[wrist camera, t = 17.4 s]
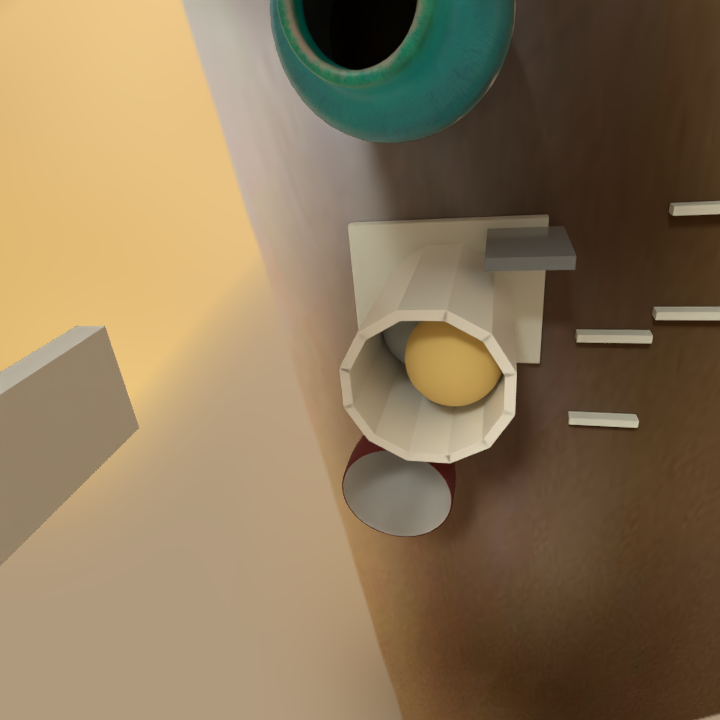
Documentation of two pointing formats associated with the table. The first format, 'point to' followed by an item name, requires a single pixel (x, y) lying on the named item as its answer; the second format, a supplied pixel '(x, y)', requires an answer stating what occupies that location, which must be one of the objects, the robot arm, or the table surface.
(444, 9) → the vase
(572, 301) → the table surface
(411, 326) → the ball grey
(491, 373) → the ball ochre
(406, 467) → the mug
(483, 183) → the table surface
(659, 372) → the table surface
